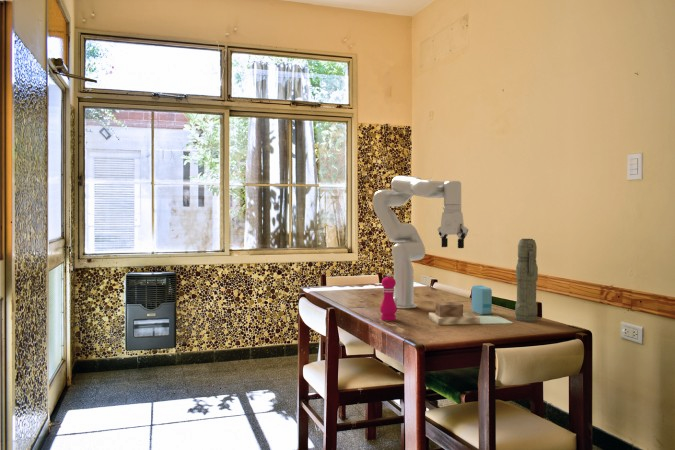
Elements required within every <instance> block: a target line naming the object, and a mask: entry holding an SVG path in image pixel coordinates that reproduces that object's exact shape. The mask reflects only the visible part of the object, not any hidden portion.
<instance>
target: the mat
mask: <svg viewBox="0 0 675 450" xmlns="http://www.w3.org/2000/svg"><path fill="white" fill-rule="evenodd" d="M476 316H477V317H479V318H480V324H479V325H502V324H504V325H505V324H506V325H508V324H509V325H510V324H511V325H512V324H514V323H513V321H510V320H508V319H506V318H503V317H501V316H500V315H476Z"/></svg>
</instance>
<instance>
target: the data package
mask: <svg viewBox="0 0 675 450" xmlns="http://www.w3.org/2000/svg"><path fill="white" fill-rule="evenodd" d="M492 291H493V290H492V288H491V287H487V286H484V285H472V287H471V311H472V312H474V313H477V314H479V315H480V316H491V314H492V309H493V308H492V303H493V302H492V299H493V298H492V297H493V294H492V293H493V292H492Z"/></svg>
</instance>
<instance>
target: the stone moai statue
mask: <svg viewBox="0 0 675 450" xmlns="http://www.w3.org/2000/svg"><path fill="white" fill-rule="evenodd" d="M537 246H538V245H537V243H536V240H535V239H533V238H521V239H519V241H518V244H517V263H516V266H515V279H516V302H515V304H514V305H515V308H514V309H515V310H514V311H515V312H514V314H515V321H518V322H521V323H522V322H523V323H524V322H525V323H535V322H537V321H538V319H537V316H538V303H537V281H538V278H539V276H538V275H539V274H538V273H539V269H538V264H537V251H538V250H537Z"/></svg>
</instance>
